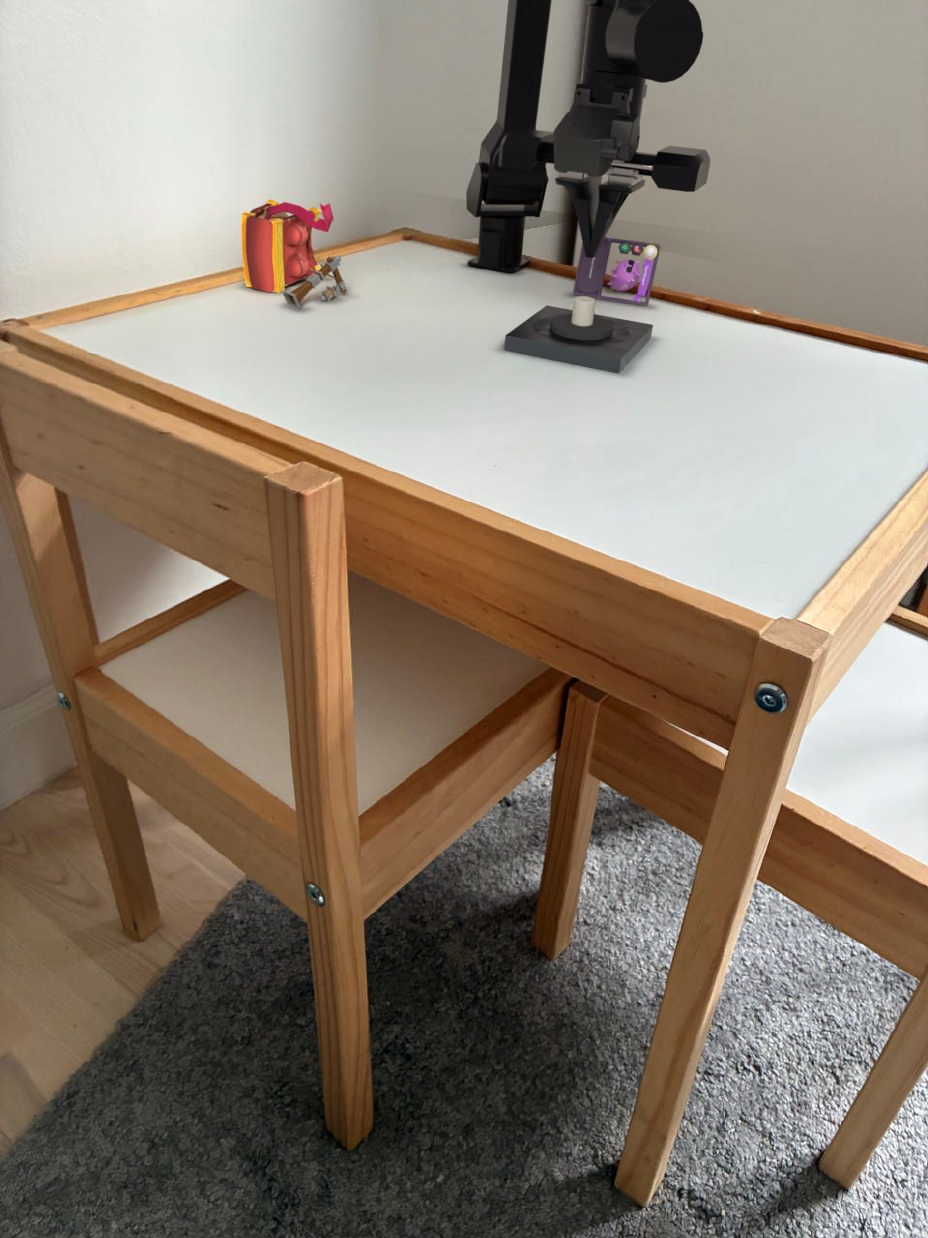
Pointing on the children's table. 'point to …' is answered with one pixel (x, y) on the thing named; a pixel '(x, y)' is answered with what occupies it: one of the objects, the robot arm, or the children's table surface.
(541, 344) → the sink plate
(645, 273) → the game card
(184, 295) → the children's table surface
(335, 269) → the toy blunderbuss
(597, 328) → the stopper
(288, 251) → the book monster
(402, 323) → the children's table surface
